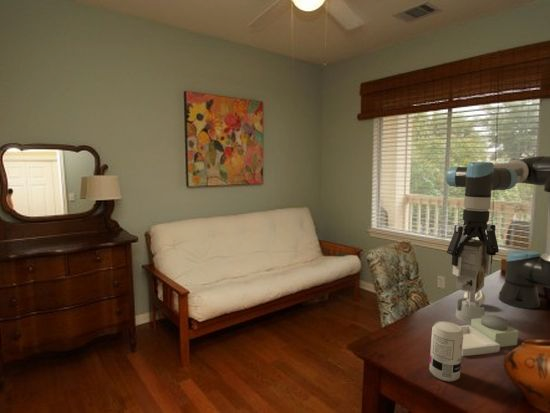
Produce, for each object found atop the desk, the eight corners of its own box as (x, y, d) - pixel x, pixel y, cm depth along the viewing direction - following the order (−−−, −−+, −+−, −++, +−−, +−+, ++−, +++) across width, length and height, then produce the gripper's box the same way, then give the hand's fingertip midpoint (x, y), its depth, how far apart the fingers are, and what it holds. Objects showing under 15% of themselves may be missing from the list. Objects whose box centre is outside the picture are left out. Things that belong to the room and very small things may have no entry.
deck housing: (490, 328, 131) (491, 311, 130) (523, 348, 117) (525, 329, 116) (434, 335, 126) (435, 316, 125) (462, 356, 112) (464, 336, 112)
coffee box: (463, 282, 123) (467, 237, 121) (484, 287, 119) (488, 241, 117) (454, 288, 117) (458, 242, 115) (476, 294, 112) (480, 245, 110)
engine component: (460, 322, 136) (488, 324, 134) (464, 271, 133) (492, 273, 131) (451, 310, 147) (477, 312, 145) (455, 263, 144) (482, 265, 142)
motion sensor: (459, 303, 154) (460, 286, 153) (473, 301, 156) (474, 284, 155) (474, 310, 146) (475, 293, 145) (488, 308, 148) (490, 291, 147)
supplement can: (423, 366, 107) (426, 320, 105) (449, 365, 108) (453, 319, 106) (438, 383, 99) (442, 334, 97) (465, 382, 100) (470, 332, 98)
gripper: (497, 206, 120) (491, 268, 123) (437, 208, 116) (433, 272, 119) (516, 210, 113) (509, 275, 116) (453, 211, 108) (448, 279, 111)
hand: (471, 274), depth 117 cm, fingers closed on coffee box, 11 cm apart
